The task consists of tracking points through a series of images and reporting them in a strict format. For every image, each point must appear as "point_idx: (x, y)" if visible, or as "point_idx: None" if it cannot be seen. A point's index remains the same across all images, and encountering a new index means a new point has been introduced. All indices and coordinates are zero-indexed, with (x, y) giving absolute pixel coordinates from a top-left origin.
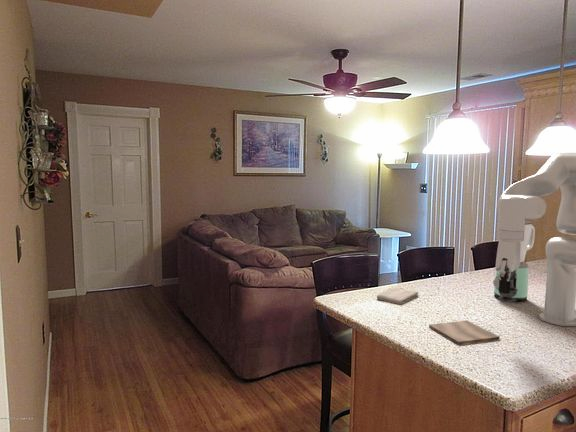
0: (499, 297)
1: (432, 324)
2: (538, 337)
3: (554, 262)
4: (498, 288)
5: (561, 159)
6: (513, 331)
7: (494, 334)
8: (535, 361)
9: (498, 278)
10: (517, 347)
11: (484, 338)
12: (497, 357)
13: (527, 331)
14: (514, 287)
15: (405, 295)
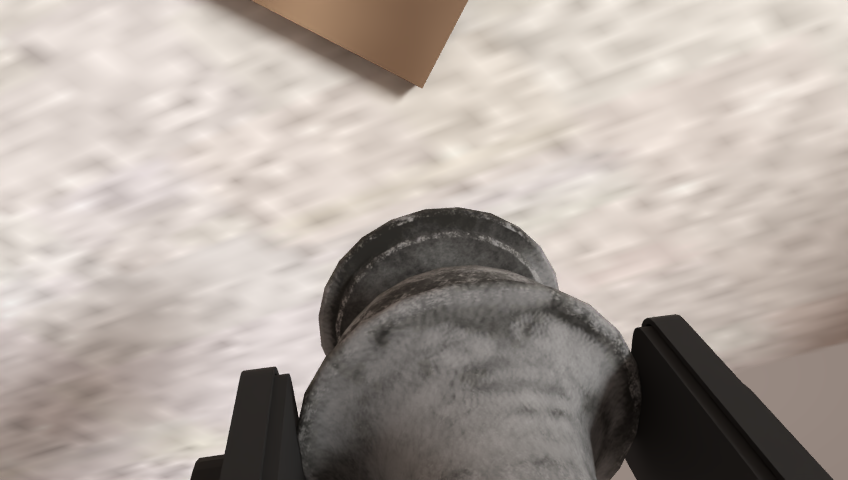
0: (401, 247)
1: None
2: (654, 248)
3: None
4: (359, 338)
5: None
6: (675, 90)
7: (443, 37)
8: (230, 366)
9: None
10: (367, 225)
11: (282, 13)
12: (70, 205)
13: (734, 161)
14: (635, 470)
15: None
